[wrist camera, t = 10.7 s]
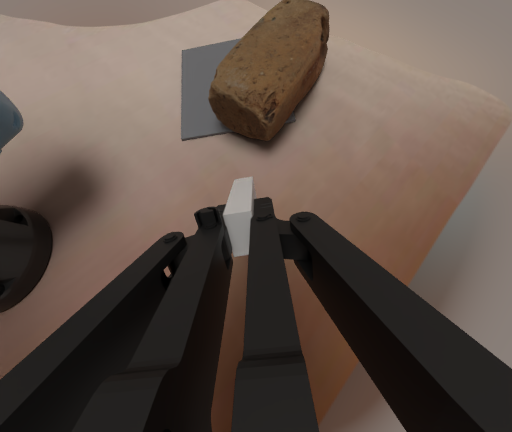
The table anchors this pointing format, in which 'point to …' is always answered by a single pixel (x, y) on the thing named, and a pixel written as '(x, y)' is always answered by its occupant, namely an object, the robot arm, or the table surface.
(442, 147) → the table surface
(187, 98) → the mat
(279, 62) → the block
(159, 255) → the robot arm
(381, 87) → the table surface
